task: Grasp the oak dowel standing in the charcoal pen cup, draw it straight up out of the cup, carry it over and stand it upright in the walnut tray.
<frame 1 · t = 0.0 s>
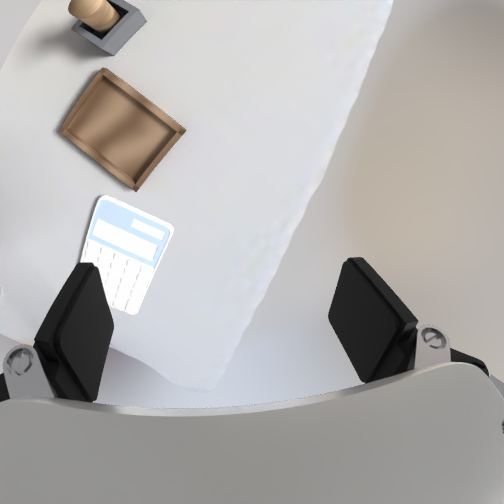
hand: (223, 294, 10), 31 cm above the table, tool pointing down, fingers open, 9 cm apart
calculator: (119, 257, 43), on the table
dowel: (114, 27, 23), point 1 cm above the table, touching pen cup
tray: (120, 127, 32), on the table
pen cup: (115, 28, 24), on the table
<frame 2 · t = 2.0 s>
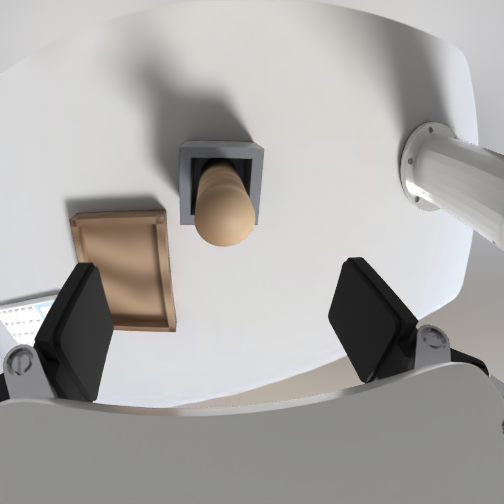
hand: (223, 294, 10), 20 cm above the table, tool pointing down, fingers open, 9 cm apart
calculator: (49, 328, 34), on the table
dowel: (218, 174, 26), point 1 cm above the table, touching pen cup
tray: (127, 272, 31), on the table
pen cup: (218, 173, 27), on the table
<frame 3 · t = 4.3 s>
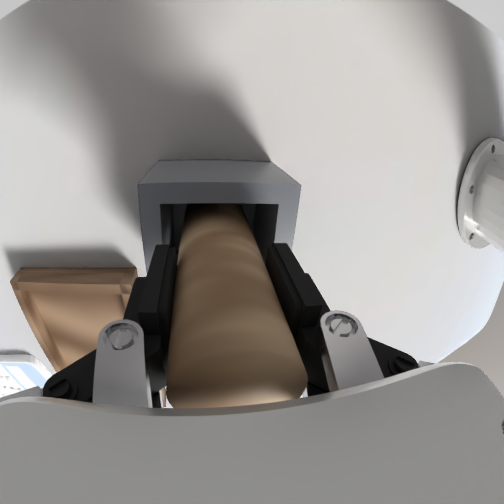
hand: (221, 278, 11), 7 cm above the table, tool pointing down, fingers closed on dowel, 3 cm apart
calculator: (22, 382, 24), on the table
dowel: (214, 216, 16), point 1 cm above the table, touching gripper, pen cup
tray: (96, 342, 21), on the table
pen cup: (213, 212, 17), on the table
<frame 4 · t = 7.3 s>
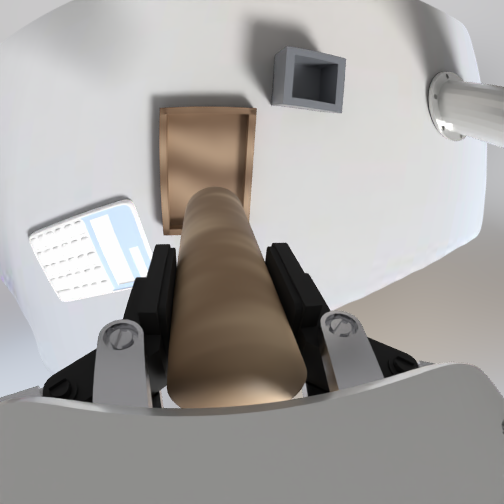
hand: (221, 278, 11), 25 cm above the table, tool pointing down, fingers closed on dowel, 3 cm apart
calculator: (91, 253, 36), on the table
dowel: (214, 214, 17), point 18 cm above the table, touching gripper
tray: (206, 169, 32), on the table
pen cup: (299, 83, 28), on the table
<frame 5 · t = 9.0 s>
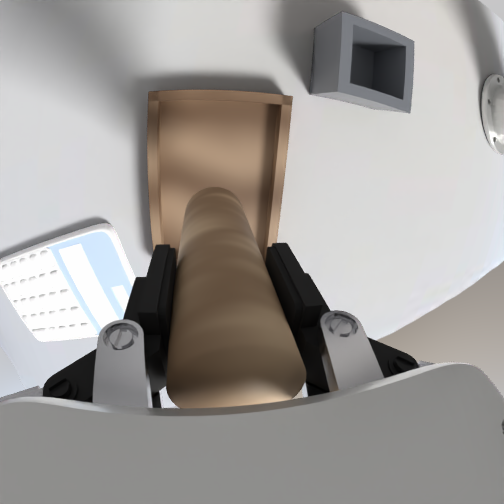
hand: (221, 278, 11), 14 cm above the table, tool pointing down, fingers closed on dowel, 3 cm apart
calculator: (66, 288, 26), on the table
dowel: (213, 215, 17), point 7 cm above the table, touching gripper
tray: (215, 183, 23), on the table
pen cup: (346, 68, 19), on the table
when the fingers open (9 cm above the table, at t = 10.6 s): dowel drops 1 cm, resting on tray.
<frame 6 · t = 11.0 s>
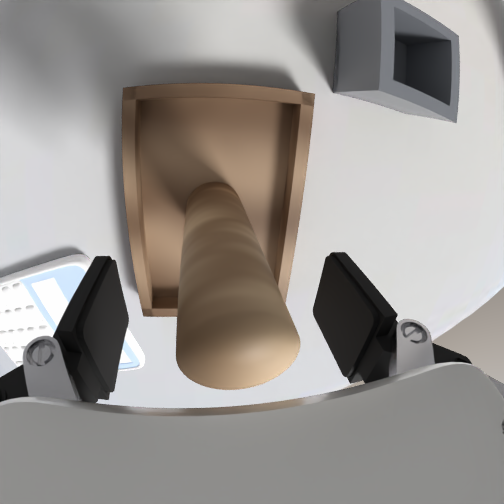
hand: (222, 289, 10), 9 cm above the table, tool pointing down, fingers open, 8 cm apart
calculator: (46, 322, 21), on the table
dowel: (213, 208, 18), point 1 cm above the table, touching tray
tray: (212, 205, 18), on the table
pen cup: (376, 62, 14), on the table
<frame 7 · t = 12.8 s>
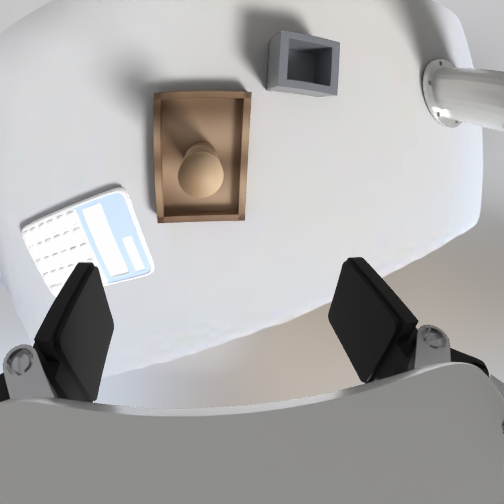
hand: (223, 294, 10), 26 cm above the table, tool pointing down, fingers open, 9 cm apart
calculator: (84, 245, 35), on the table
dowel: (201, 155, 31), point 1 cm above the table, touching tray
tray: (200, 155, 31), on the table
pen cup: (294, 68, 28), on the table
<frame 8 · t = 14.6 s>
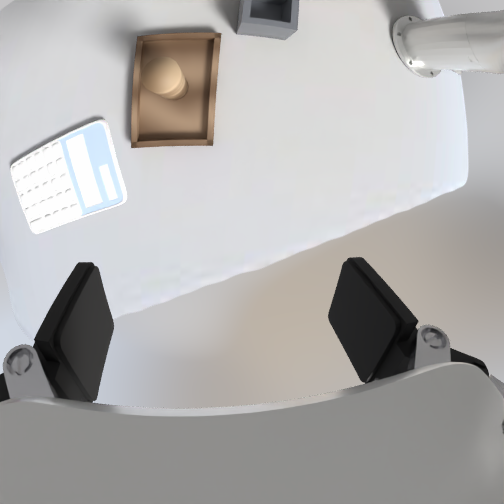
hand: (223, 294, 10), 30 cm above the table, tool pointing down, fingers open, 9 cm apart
calculator: (65, 179, 33), on the table
dowel: (175, 87, 30), point 1 cm above the table, touching tray
tray: (175, 88, 30), on the table
pen cup: (262, 17, 26), on the table
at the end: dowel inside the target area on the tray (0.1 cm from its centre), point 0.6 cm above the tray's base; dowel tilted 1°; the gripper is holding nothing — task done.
